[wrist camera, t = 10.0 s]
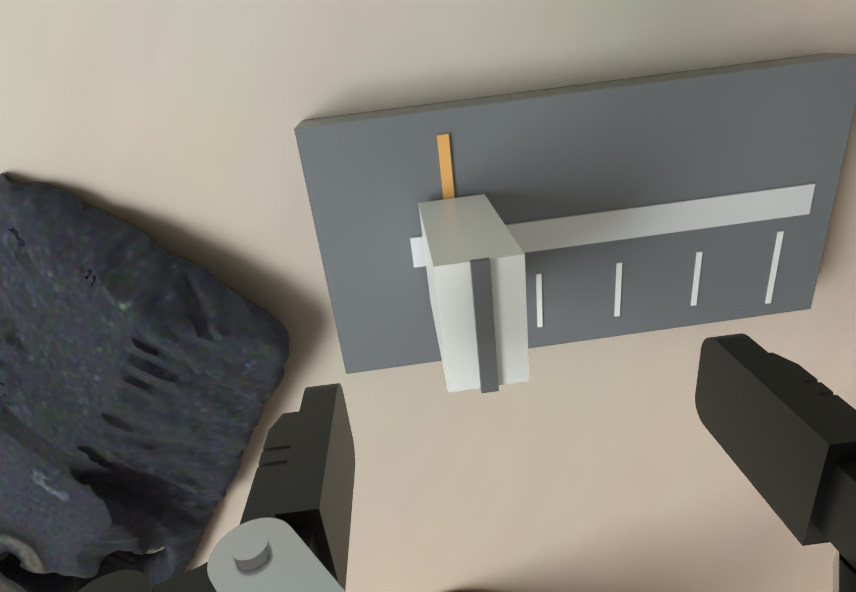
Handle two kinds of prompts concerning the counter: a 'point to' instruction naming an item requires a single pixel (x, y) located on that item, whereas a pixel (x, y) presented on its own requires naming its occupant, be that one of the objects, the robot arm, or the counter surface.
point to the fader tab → (475, 293)
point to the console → (590, 200)
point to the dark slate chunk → (115, 394)
